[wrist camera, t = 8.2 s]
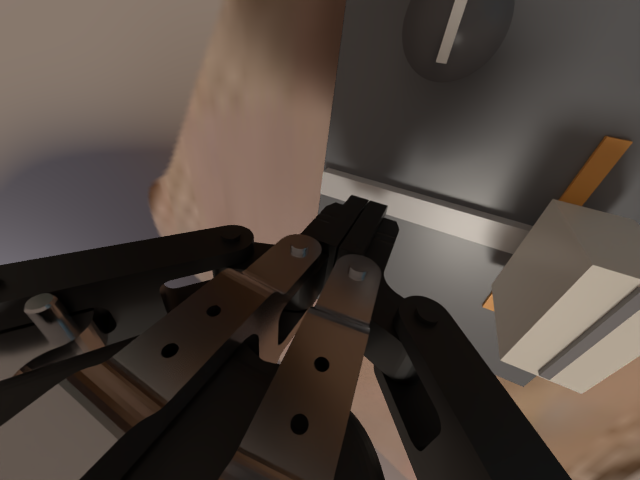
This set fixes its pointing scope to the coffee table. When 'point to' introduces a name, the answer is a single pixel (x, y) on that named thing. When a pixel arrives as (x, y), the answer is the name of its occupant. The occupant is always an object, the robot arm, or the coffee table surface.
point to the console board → (482, 134)
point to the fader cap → (571, 297)
